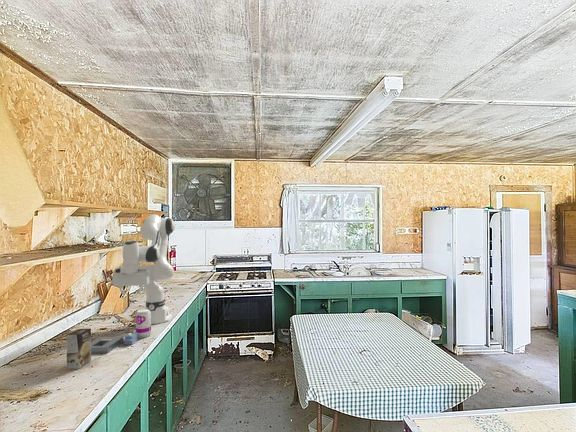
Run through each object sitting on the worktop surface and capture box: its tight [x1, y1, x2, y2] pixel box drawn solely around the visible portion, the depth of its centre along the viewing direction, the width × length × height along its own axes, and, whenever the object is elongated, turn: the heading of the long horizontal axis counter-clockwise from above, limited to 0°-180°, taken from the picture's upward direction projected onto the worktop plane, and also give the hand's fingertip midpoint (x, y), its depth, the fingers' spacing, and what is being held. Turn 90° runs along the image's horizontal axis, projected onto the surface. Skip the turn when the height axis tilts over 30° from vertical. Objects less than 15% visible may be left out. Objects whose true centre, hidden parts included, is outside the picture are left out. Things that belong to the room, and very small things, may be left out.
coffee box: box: [66, 328, 92, 370], centre depth 162 cm, size 9×6×16 cm
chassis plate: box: [91, 336, 125, 354], centre depth 184 cm, size 16×14×3 cm
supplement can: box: [135, 308, 152, 339], centre depth 202 cm, size 8×8×15 cm
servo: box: [123, 332, 139, 346], centre depth 191 cm, size 9×4×6 cm, turn 179°
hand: (130, 293), depth 194 cm, fingers open, 8 cm apart
